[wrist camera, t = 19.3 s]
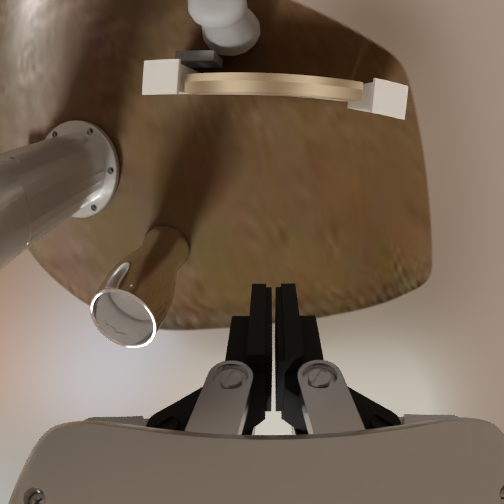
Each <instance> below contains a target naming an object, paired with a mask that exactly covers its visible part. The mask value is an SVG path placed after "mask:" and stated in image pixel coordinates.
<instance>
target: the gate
mask: <svg viewBox="0 0 504 504" xmlns="http://www.w3.org/2000/svg"><path fill="white" fill-rule="evenodd" d="M185 93H189V94H197V95H273V96H291V97H305V98H317V99H327V100H336V101H362V96H363V82H359V81H352V80H345V79H337V78H328V77H319V76H308V75H296V74H279V73H249V72H224V73H194V74H185Z"/></svg>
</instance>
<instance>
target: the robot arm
mask: <svg viewBox="0 0 504 504" xmlns="http://www.w3.org/2000/svg"><path fill="white" fill-rule="evenodd" d="M92 130H93V132H92ZM112 168H113V169H114V171H113V170H112ZM118 181H119V161H118V155H117V152H116V149H115V147H114V145H113V143H112V141H111V139H110V138H109V137H108V135H107V134H106V133H105V132H104V131H103V130H102V129H101V128H100V127H98V126H97V125H95V124H93V123H91V122H88V121H84V120H73V121H68V122H65V123H62V124H60V125H58V126H57V127H55V128H54V129H53V130H52V131H51V132H50V133H49V134H48V135H47V137H46V138H45V140H43V141H40V142H36V143H33V144H29V145H26V146H23V147H20V148H16V149H13V150H10V151H7V152H4V153H1V154H0V271H1V270H2V269H3V268H4V267H5V266H6V265H8V264H9V263H10V262H11V261H12V260H14V259H15V258H16V257H17V256H18V255H20V254H21V253H22V252H24V251H25V250H26V249H27V248H29V247H30V246H31V245H33V244H34V243H35V242H37V241H38V240H39V239H40V238H42V237H43V236H44V235H46V234H47V233H48V232H50V231H51V230H53V229H54V228H55V227H57V226H58V225H59V224H61V223H62V222H64V221H65V220H66V219H68V218H69V217H76V218H85V217H89V216H92V215H94V214H96V213H97V212H99V211H100V210H102V209H103V208H104V207H105V206H106V205H107V204H108V203H109V202H110V201H111V199H112V197H113V196H114V194H115V191H116V188H117V186H118ZM275 373H276V374H275V375H276V376H275V377H276V411H281V412H282V419H283V420H285V421H286V422H287V423H289V424H290V425H291V426H292V434H293V435H254V434H255V426H256V425H258V424H259V423H260V422H262V421H263V420H264V419H265V411H271V387H272V291H271V287H266V284H252V293H251V305H250V316H233V317H232V320H231V327H230V333H229V340H228V346H227V353H226V359H225V361H224V362H221V363H219V364H216V365H215V366H214V367H213V368H211V370H210V371H209V373H208V376H207V378H206V381H205V383H204V385H203V387H202V388H200V389H198V390H196V391H195V392H193V393H191V394H190V395H188V396H186V397H184V398H183V399H181V400H179V401H177V402H176V403H174V404H172V405H170V406H168V407H167V408H165V409H163V410H161V411H159V412H157V413H156V414H154V415H153V416H152V417H151V418H150V419H144V418H143V416H133V417H93V418H88V419H86V420H84V421H76V422H68V423H64V424H60V425H57V426H55V427H52V428H51V429H49V430H48V431H47V432H46V433H45V434H44V435H43V436H42V437H41V438H40V439H39V441H38V442H37V444H36V446H35V447H34V449H33V450H32V452H31V454H30V455H29V457H28V459H27V461H26V463H25V465H24V467H23V469H22V472H21V474H20V476H19V478H18V480H17V483H16V485H15V488H14V490H13V493H12V496H11V498H10V501H9V504H504V434H503V432H502V431H501V430H500V429H499V428H498V427H497V426H495V425H494V424H492V423H490V422H487V421H484V420H480V419H473V418H459V417H457V416H454V415H411V414H405V415H404V416H403V417H398V416H397V415H396V414H394V413H393V412H392V411H390V410H388V409H386V408H384V407H383V406H381V405H379V404H377V403H375V402H374V401H372V400H370V399H368V398H367V397H365V396H363V395H361V394H359V393H358V392H356V391H354V390H352V389H351V388H349V387H347V384H346V382H345V380H344V378H343V375H342V373H341V371H340V370H339V368H338V367H337V366H336V365H335V364H333V363H331V362H328V361H324V360H323V354H322V349H321V343H320V338H319V332H318V327H317V322H316V317H315V316H299V310H298V302H297V294H296V287H295V284H281V287H276V312H275Z"/></svg>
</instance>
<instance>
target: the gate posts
mask: <svg viewBox="0 0 504 504" xmlns="http://www.w3.org/2000/svg"><path fill="white" fill-rule="evenodd" d="M182 64H183V65H182ZM222 64H223V59H222V58H221V57H220V56H219V55H218V54H217V53H216V52H215V51H214V50H191V51H176V57H175V59H164V60H148V61H144V71H143V87H142V95H156V94H189V93H185V74H194V73H200V72H197V71H195V70H193V69H191V68H222ZM184 65H185V66H184ZM186 66H188V67H186ZM189 67H190V68H189ZM407 94H408V86H406V85H402V84H398V83H395V82H391V81H387V80H382V79H378V78H373V82H372V83H366V84H363V96H362V101H348V106H347V108H350V109H355V110H361V111H366V112H371V113H376V114H381V115H386V116H390V117H394V118H399V119H403V120H405V112H406V103H407Z"/></svg>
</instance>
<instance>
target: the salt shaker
mask: <svg viewBox="0 0 504 504" xmlns="http://www.w3.org/2000/svg"><path fill="white" fill-rule="evenodd" d="M188 11H189V14H190V15H191V17H192V18H193V19H194V21H195V22H196V23H197V24H199V25H201V26H202V33H203V40H204V41H205V43H206V44H207V46H208V47H209V49H211V50H214V51H215V52H216V53H218V54H220V55H228V56H235V55H239V54H242V53H246V52H247V51H248V50H249V49H250V48H252V47H253V46H254V45H255V44H256V42H257V40H258V38H259V36H260V34H261V32H260V24H259V21H258V19H257V18H256V16H255V15H254V14H253V12H252V11H251V10H250V9H248V8H247V0H188Z"/></svg>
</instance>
